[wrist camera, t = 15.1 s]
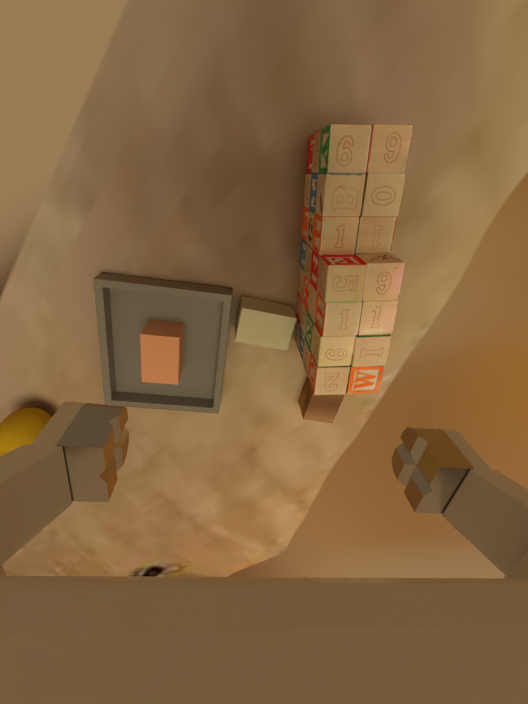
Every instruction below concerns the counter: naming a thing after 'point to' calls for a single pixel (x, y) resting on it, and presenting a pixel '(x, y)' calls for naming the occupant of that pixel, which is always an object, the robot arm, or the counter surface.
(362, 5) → the counter surface
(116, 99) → the counter surface
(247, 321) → the sage brick
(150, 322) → the terracotta brick
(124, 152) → the counter surface
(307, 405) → the walnut brick
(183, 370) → the charcoal tray
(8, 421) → the lemon
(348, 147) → the stack of blocks
